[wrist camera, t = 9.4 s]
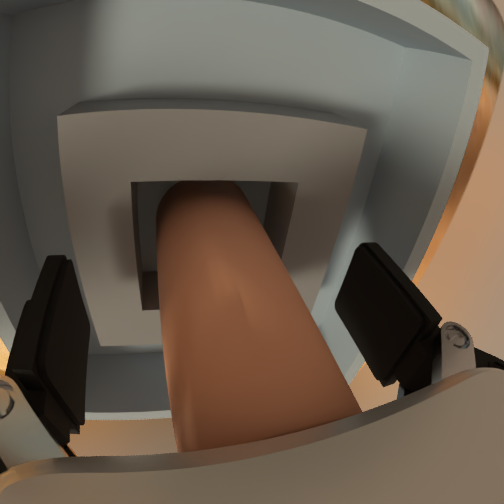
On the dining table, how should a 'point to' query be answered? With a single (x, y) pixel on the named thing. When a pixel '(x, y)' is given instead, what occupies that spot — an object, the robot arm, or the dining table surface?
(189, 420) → the peg
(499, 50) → the dining table surface
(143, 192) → the grey socket tray
